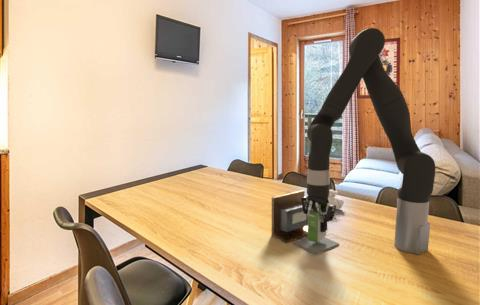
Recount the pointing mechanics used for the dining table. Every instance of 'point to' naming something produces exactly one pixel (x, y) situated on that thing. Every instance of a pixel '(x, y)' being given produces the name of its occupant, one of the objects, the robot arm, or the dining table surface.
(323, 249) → the mat
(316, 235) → the ink box
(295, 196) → the open brown box
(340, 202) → the bust
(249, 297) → the dining table surface
